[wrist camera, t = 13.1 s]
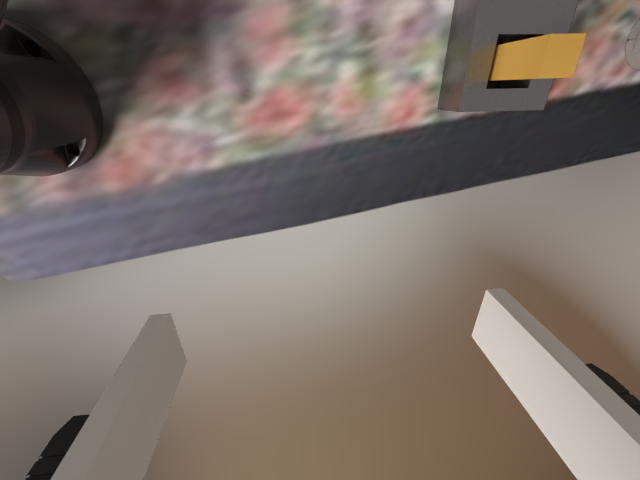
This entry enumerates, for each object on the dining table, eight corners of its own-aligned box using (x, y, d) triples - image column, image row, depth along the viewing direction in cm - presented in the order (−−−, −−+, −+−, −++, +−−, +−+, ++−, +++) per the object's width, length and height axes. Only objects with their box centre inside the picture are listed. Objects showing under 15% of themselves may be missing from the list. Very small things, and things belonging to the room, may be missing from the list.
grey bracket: (513, 107, 37) (626, 116, 24) (398, 110, 36) (457, 121, 23) (566, -89, 28) (778, -223, 16) (419, -94, 27) (527, -243, 15)
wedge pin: (474, 49, 33) (551, 33, 24) (500, 49, 34) (587, 33, 24) (468, 81, 35) (538, 78, 25) (493, 80, 35) (572, 77, 25)
